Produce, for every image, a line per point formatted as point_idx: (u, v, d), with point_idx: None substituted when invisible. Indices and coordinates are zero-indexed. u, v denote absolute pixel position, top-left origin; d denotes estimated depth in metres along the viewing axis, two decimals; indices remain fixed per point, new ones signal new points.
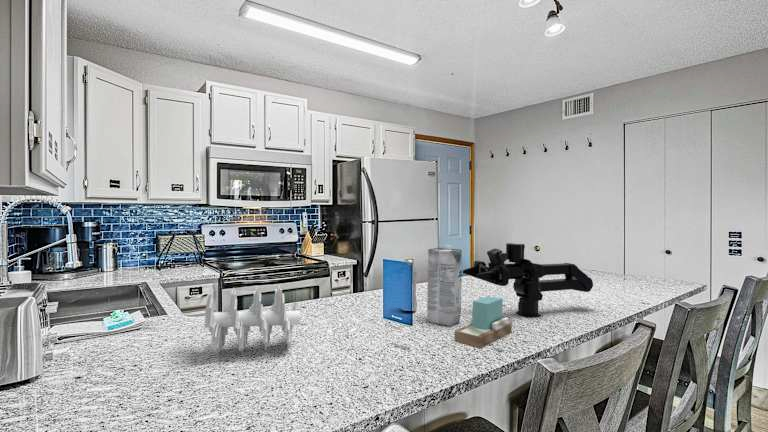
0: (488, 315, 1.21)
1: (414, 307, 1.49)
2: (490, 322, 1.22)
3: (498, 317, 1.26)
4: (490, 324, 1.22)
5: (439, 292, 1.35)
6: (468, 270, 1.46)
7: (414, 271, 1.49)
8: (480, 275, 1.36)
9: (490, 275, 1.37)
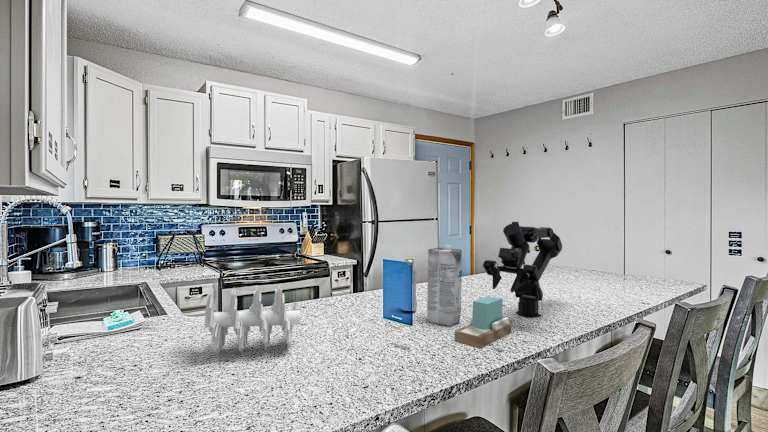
0: (488, 315, 1.21)
1: (414, 307, 1.49)
2: (490, 322, 1.22)
3: (498, 317, 1.26)
4: (490, 324, 1.22)
5: (439, 292, 1.35)
6: (495, 282, 1.36)
7: (414, 271, 1.49)
8: (514, 288, 1.31)
9: (519, 280, 1.32)
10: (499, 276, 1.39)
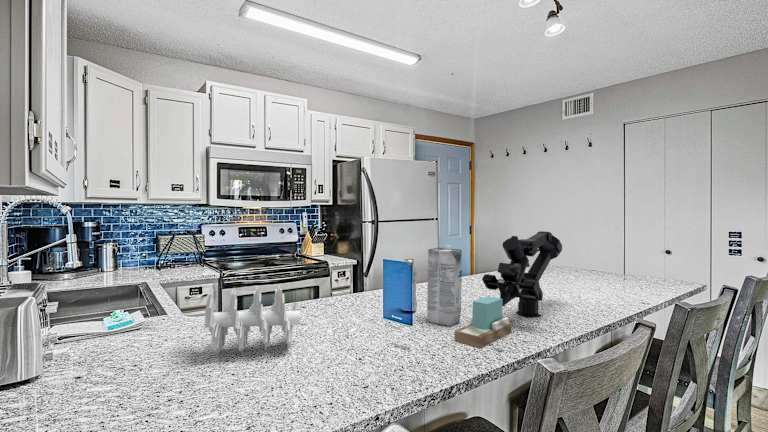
0: (488, 315, 1.21)
1: (414, 307, 1.49)
2: (490, 322, 1.22)
3: (498, 317, 1.26)
4: (490, 324, 1.22)
5: (439, 292, 1.35)
6: (503, 299, 1.34)
7: (414, 271, 1.49)
8: (504, 302, 1.33)
9: (510, 293, 1.34)
10: None
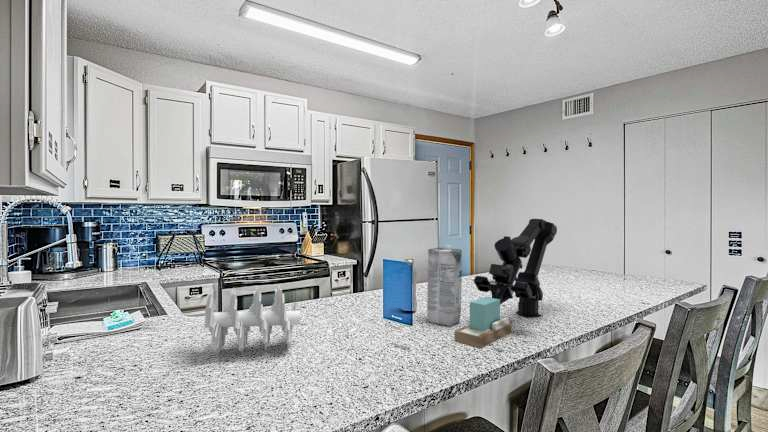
0: (486, 316, 1.20)
1: (414, 307, 1.49)
2: (488, 323, 1.21)
3: (496, 318, 1.25)
4: (487, 325, 1.21)
5: (439, 292, 1.35)
6: None
7: (414, 271, 1.49)
8: None
9: (502, 296, 1.30)
10: None
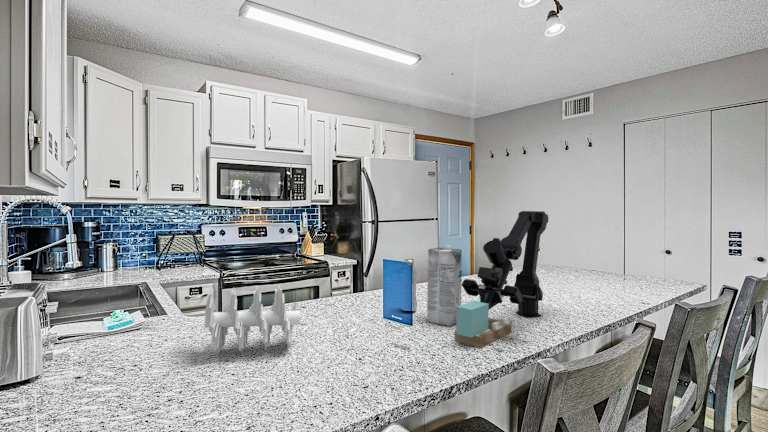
0: (473, 321, 1.14)
1: (414, 307, 1.49)
2: (475, 329, 1.15)
3: (484, 323, 1.19)
4: (475, 331, 1.15)
5: (439, 292, 1.35)
6: None
7: (414, 271, 1.49)
8: None
9: (490, 300, 1.24)
10: None
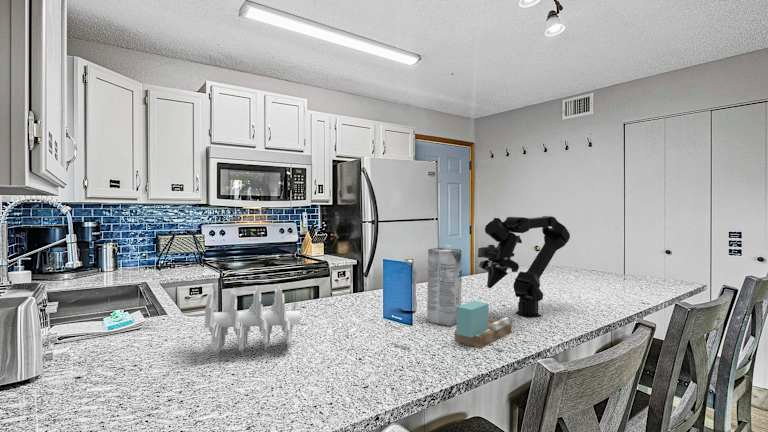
0: (473, 321, 1.14)
1: (414, 307, 1.49)
2: (475, 329, 1.15)
3: (484, 323, 1.19)
4: (475, 331, 1.15)
5: (439, 292, 1.35)
6: None
7: (414, 271, 1.49)
8: (490, 284, 1.37)
9: (495, 274, 1.38)
10: None
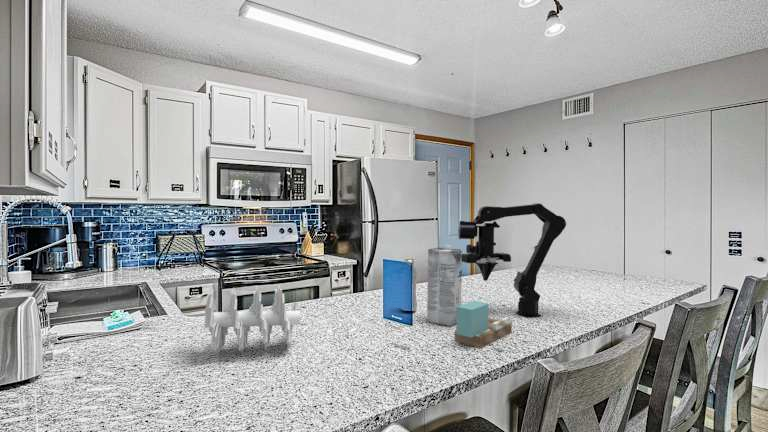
0: (473, 321, 1.14)
1: (414, 307, 1.49)
2: (475, 329, 1.15)
3: (484, 323, 1.19)
4: (475, 331, 1.15)
5: (439, 292, 1.35)
6: None
7: (414, 271, 1.49)
8: (483, 277, 1.50)
9: (482, 267, 1.50)
10: (488, 264, 1.49)
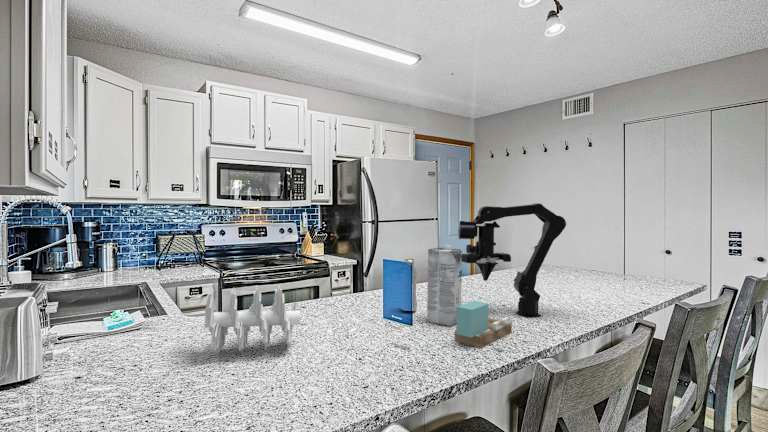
0: (473, 321, 1.14)
1: (414, 307, 1.49)
2: (475, 329, 1.15)
3: (484, 323, 1.19)
4: (475, 331, 1.15)
5: (439, 292, 1.35)
6: None
7: (414, 271, 1.49)
8: (483, 277, 1.50)
9: (482, 267, 1.50)
10: (488, 264, 1.49)
